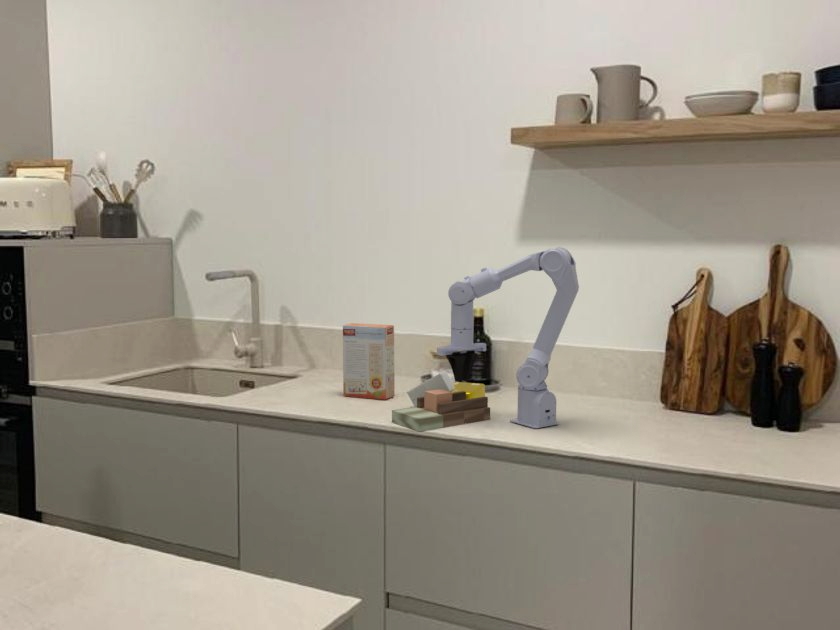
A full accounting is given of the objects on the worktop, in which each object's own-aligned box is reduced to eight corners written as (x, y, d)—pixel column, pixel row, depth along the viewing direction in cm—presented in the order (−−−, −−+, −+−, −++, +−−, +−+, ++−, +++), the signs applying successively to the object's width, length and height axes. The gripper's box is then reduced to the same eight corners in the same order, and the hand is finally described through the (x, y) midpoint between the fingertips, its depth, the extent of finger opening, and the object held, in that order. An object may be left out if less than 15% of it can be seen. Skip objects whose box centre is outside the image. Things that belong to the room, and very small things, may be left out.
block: (452, 409, 209) (452, 392, 209) (436, 412, 206) (436, 394, 206) (440, 406, 213) (440, 389, 213) (424, 408, 210) (424, 391, 210)
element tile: (419, 404, 231) (419, 387, 231) (437, 394, 245) (437, 378, 245) (471, 409, 226) (471, 391, 226) (486, 398, 240) (486, 382, 240)
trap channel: (490, 419, 212) (490, 397, 212) (419, 431, 200) (419, 408, 199) (460, 410, 222) (461, 390, 221) (391, 421, 209) (391, 400, 209)
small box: (416, 410, 219) (450, 391, 217) (405, 392, 220) (439, 372, 217) (423, 407, 227) (456, 388, 225) (413, 389, 228) (446, 370, 225)
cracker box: (395, 396, 240) (395, 324, 238) (385, 400, 235) (385, 327, 233) (353, 392, 246) (352, 322, 244) (342, 396, 241) (342, 324, 239)
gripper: (474, 324, 219) (473, 375, 221) (429, 328, 211) (429, 381, 213) (491, 327, 214) (491, 379, 215) (446, 331, 205) (446, 386, 207)
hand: (461, 381), depth 213 cm, fingers closed
